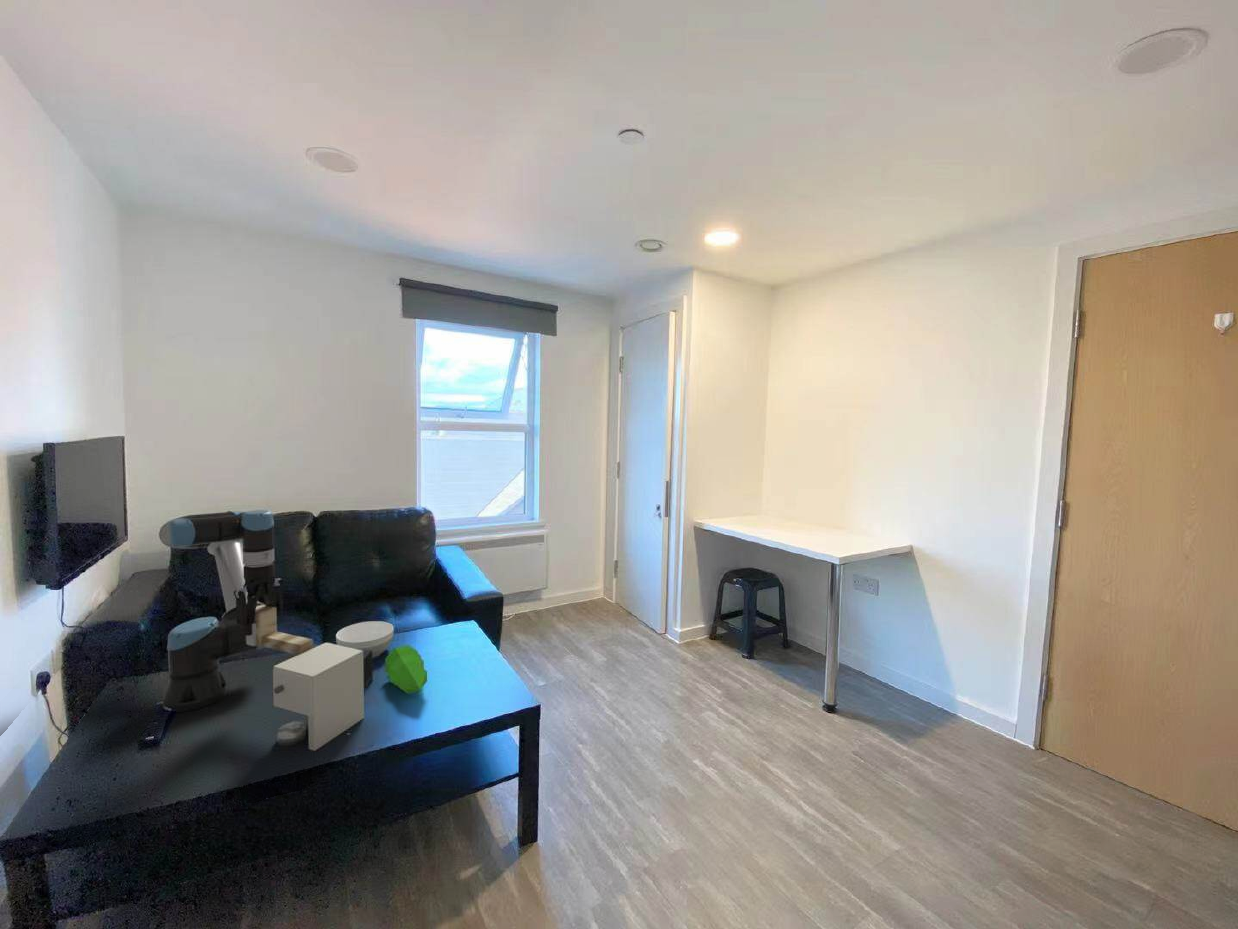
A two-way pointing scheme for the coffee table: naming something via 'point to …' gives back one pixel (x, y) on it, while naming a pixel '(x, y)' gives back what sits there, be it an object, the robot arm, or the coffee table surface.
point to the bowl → (366, 636)
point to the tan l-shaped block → (276, 633)
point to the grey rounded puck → (291, 733)
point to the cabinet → (322, 689)
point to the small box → (367, 667)
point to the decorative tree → (406, 669)
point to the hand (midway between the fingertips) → (261, 641)
